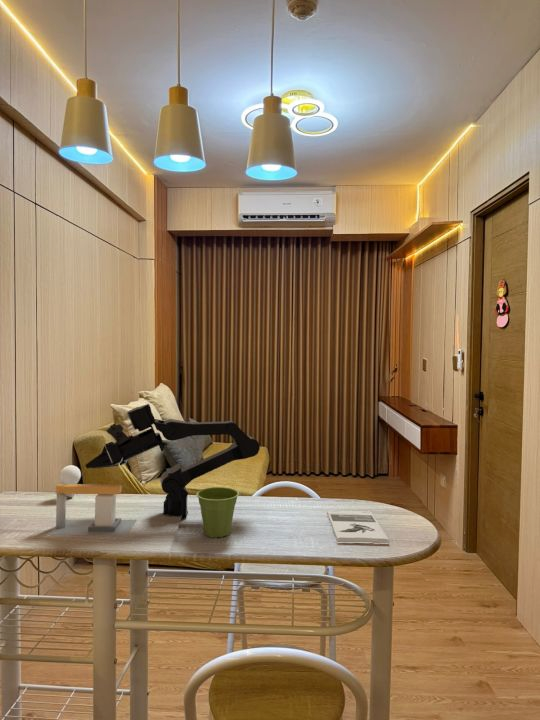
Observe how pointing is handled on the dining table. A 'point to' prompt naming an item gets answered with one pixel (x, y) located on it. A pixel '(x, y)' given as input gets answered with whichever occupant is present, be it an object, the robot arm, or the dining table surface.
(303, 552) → the dining table surface
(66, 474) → the light bulb
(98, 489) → the bar
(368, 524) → the book
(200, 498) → the plant pot
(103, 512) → the plug
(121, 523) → the socket board
